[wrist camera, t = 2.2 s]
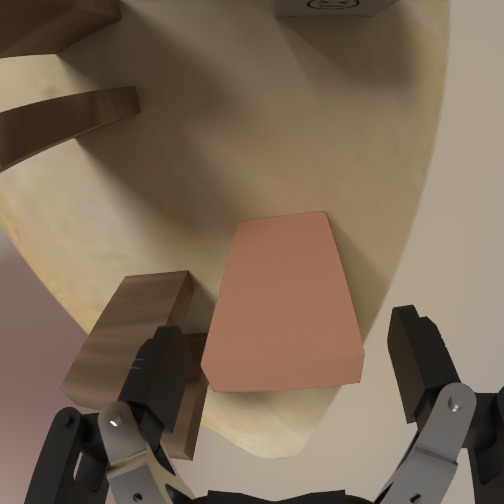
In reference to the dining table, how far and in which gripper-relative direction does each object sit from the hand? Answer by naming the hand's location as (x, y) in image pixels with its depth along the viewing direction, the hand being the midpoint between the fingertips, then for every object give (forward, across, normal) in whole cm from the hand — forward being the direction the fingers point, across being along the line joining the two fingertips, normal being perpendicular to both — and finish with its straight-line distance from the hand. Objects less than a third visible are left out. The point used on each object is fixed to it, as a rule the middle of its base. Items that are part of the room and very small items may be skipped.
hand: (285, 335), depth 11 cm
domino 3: (+8, +9, +3) cm, 12 cm away
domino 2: (+8, +9, -9) cm, 15 cm away
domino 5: (+8, 0, 0) cm, 8 cm away
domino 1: (+8, +9, -15) cm, 19 cm away
